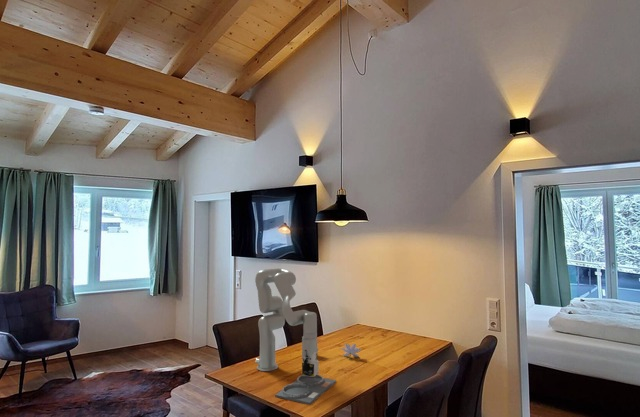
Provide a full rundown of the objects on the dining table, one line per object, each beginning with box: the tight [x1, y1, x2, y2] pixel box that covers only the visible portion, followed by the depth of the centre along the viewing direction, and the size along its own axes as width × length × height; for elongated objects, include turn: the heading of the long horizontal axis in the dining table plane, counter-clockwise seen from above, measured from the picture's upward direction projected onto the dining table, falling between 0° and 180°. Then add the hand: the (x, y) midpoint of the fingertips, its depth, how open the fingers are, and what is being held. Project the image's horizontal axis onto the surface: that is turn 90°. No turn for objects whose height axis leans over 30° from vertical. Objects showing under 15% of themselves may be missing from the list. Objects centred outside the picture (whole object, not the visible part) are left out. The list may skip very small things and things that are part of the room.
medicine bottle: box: [301, 352, 320, 377], centre depth 206 cm, size 7×7×12 cm
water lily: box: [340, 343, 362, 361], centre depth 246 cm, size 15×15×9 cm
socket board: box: [274, 377, 337, 405], centre depth 198 cm, size 20×30×1 cm, turn 153°
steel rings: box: [282, 374, 324, 398], centre depth 199 cm, size 14×29×2 cm, turn 153°
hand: (310, 367), depth 206 cm, fingers closed on medicine bottle, 7 cm apart
